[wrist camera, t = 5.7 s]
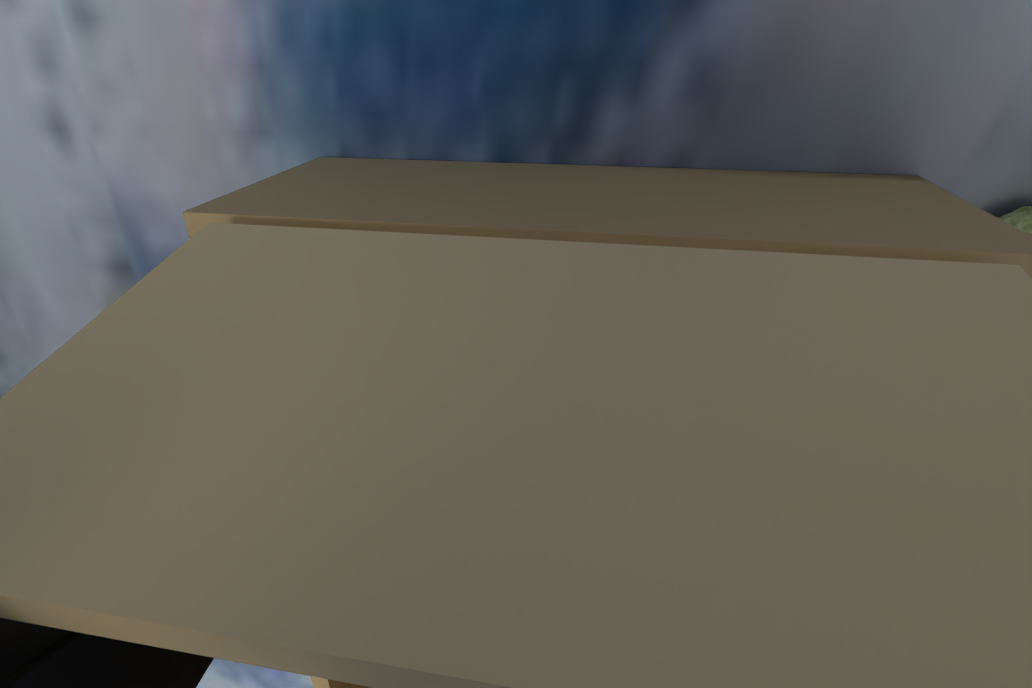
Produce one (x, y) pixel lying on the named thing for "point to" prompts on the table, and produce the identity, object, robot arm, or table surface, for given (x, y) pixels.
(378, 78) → the table surface
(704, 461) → the flap
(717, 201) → the carton
